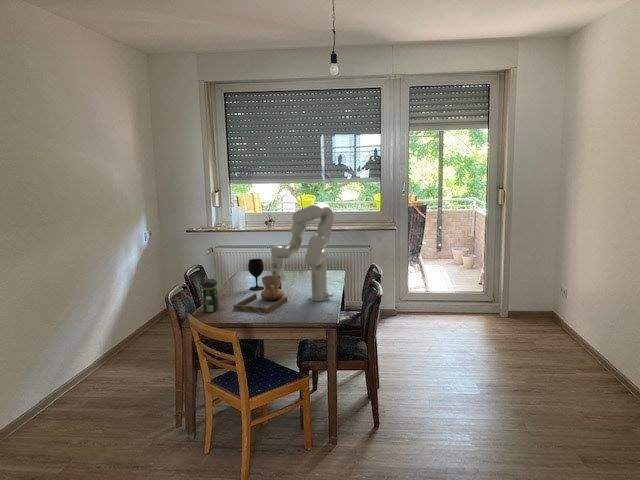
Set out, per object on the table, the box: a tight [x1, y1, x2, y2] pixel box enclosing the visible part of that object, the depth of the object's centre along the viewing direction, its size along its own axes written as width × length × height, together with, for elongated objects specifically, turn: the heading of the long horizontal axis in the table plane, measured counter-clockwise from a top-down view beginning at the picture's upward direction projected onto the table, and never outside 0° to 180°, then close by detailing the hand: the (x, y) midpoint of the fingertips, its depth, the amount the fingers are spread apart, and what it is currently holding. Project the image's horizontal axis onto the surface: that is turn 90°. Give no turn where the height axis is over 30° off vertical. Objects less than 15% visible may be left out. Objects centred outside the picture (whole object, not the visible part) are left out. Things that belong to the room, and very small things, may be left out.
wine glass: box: [247, 258, 265, 292], centre depth 339 cm, size 10×10×20 cm
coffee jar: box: [201, 278, 220, 313], centre depth 292 cm, size 10×8×19 cm
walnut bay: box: [233, 293, 288, 314], centre depth 300 cm, size 23×25×3 cm
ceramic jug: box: [260, 274, 285, 301], centre depth 313 cm, size 18×14×14 cm
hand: (278, 292), depth 322 cm, fingers closed
